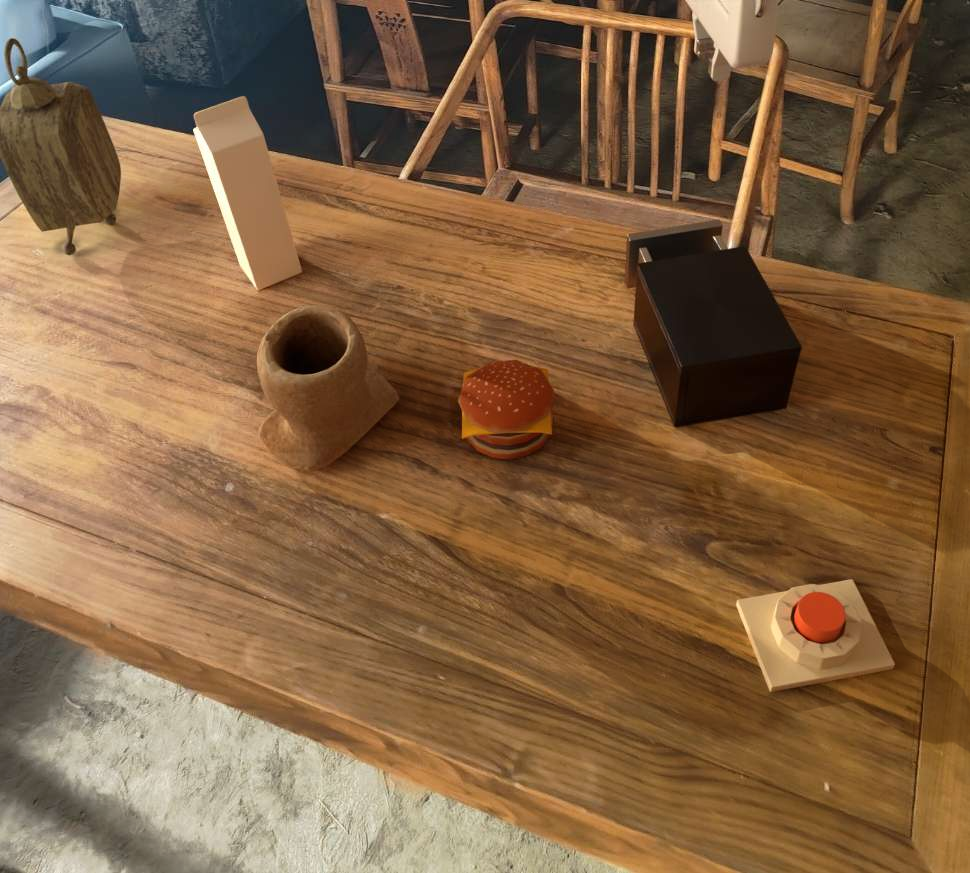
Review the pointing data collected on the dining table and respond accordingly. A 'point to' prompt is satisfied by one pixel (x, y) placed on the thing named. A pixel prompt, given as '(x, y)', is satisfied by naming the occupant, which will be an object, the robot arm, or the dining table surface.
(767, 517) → the dining table surface
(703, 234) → the drawer
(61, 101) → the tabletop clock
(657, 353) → the dark brown box
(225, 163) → the milk
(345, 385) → the stone cup
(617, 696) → the dining table surface
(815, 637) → the button
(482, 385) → the hamburger
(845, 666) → the button base
